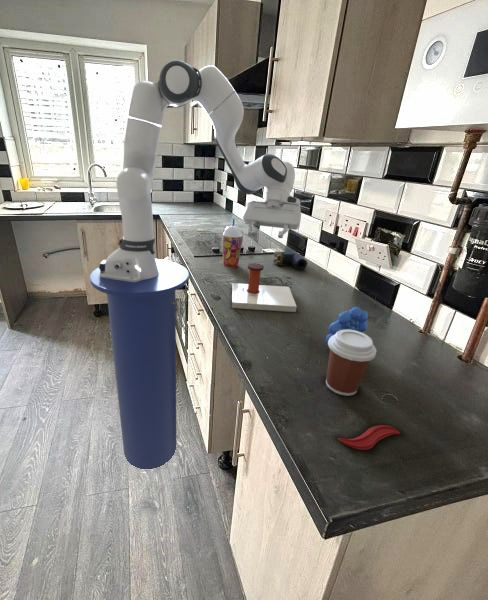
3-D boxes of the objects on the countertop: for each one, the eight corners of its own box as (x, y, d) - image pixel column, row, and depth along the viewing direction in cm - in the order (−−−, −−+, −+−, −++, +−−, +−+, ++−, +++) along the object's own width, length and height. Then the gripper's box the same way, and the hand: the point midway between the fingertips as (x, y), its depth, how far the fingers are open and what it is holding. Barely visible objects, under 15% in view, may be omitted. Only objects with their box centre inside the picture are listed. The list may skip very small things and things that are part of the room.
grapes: (348, 338, 87) (359, 298, 82) (367, 351, 82) (379, 309, 76) (312, 344, 84) (321, 303, 79) (329, 359, 78) (340, 315, 73)
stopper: (245, 299, 108) (248, 268, 103) (244, 292, 112) (247, 262, 108) (260, 300, 107) (264, 269, 103) (259, 293, 112) (263, 263, 107)
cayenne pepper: (343, 450, 54) (345, 442, 53) (332, 428, 58) (334, 420, 57) (411, 448, 55) (414, 440, 54) (395, 427, 59) (398, 419, 58)
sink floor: (231, 307, 101) (232, 302, 100) (232, 288, 116) (232, 283, 115) (295, 312, 100) (296, 306, 99) (288, 291, 115) (289, 286, 114)
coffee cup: (310, 377, 71) (320, 330, 66) (341, 368, 75) (353, 323, 70) (341, 405, 64) (355, 355, 59) (373, 393, 67) (389, 345, 62)
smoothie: (227, 261, 144) (230, 215, 135) (243, 265, 139) (247, 218, 131) (217, 265, 137) (219, 218, 129) (234, 270, 133) (237, 221, 125)
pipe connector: (282, 258, 133) (270, 248, 146) (280, 270, 135) (269, 259, 148) (308, 258, 134) (294, 248, 148) (305, 270, 137) (293, 259, 150)
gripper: (247, 195, 117) (237, 226, 113) (304, 199, 110) (295, 234, 106) (249, 205, 123) (239, 236, 119) (304, 211, 116) (295, 244, 112)
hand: (266, 235), depth 112 cm, fingers open, 8 cm apart
